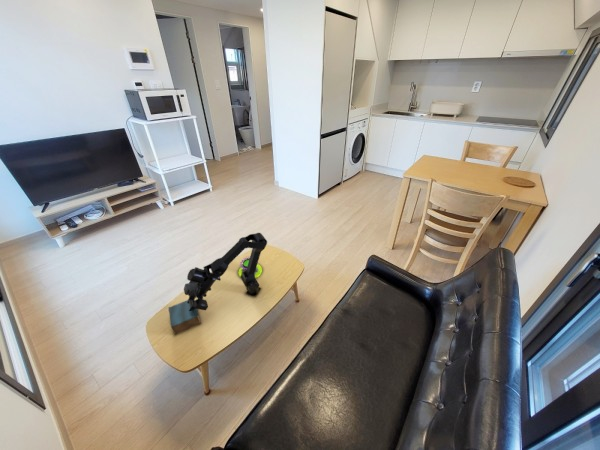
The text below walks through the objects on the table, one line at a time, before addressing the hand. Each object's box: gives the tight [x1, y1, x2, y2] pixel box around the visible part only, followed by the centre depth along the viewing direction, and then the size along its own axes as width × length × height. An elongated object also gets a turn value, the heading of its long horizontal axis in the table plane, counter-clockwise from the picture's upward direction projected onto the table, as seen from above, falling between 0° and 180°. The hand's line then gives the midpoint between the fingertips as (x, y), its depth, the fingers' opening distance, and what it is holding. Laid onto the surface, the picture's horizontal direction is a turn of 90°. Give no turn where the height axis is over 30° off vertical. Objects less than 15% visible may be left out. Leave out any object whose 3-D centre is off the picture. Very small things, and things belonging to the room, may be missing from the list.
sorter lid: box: [168, 298, 200, 328], centre depth 120 cm, size 13×12×4 cm
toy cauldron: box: [238, 255, 263, 279], centre depth 151 cm, size 15×15×11 cm
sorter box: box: [171, 315, 201, 335], centre depth 123 cm, size 12×12×6 cm
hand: (189, 306), depth 121 cm, fingers closed on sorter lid, 5 cm apart
